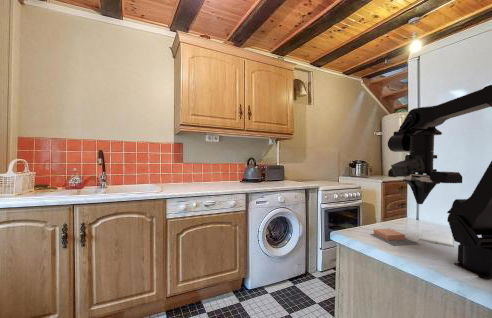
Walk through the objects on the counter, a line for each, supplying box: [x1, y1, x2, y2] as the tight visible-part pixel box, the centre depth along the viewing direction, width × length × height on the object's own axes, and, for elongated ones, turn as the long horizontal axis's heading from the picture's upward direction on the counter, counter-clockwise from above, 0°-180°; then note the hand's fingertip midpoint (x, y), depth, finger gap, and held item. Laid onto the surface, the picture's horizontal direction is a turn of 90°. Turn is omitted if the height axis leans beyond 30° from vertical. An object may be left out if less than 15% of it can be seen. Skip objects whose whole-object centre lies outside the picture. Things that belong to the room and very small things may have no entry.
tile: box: [373, 228, 406, 241], centre depth 73 cm, size 2×6×6 cm
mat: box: [369, 233, 421, 247], centre depth 72 cm, size 10×9×1 cm
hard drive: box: [418, 228, 455, 248], centre depth 73 cm, size 2×8×12 cm
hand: (419, 204), depth 68 cm, fingers closed
